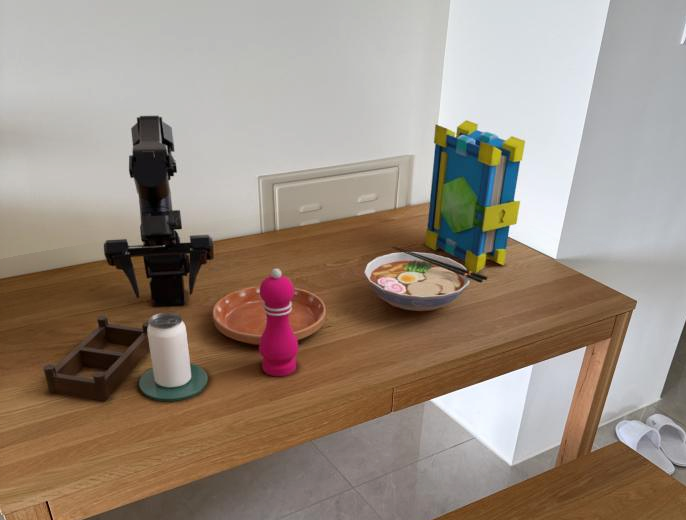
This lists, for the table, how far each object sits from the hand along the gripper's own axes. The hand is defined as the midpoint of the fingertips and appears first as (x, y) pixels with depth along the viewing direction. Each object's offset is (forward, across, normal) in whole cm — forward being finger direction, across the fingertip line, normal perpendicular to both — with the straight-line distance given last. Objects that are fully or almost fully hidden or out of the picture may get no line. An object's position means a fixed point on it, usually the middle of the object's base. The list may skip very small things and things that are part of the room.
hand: (164, 295), depth 128 cm
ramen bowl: (-1, +52, +20) cm, 56 cm away
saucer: (+2, +20, +17) cm, 26 cm away
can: (+15, 0, +4) cm, 15 cm away
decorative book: (-18, +72, +37) cm, 83 cm away
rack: (+10, -12, +9) cm, 18 cm away
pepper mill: (+14, +19, +5) cm, 24 cm away
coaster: (+15, 0, +4) cm, 16 cm away
